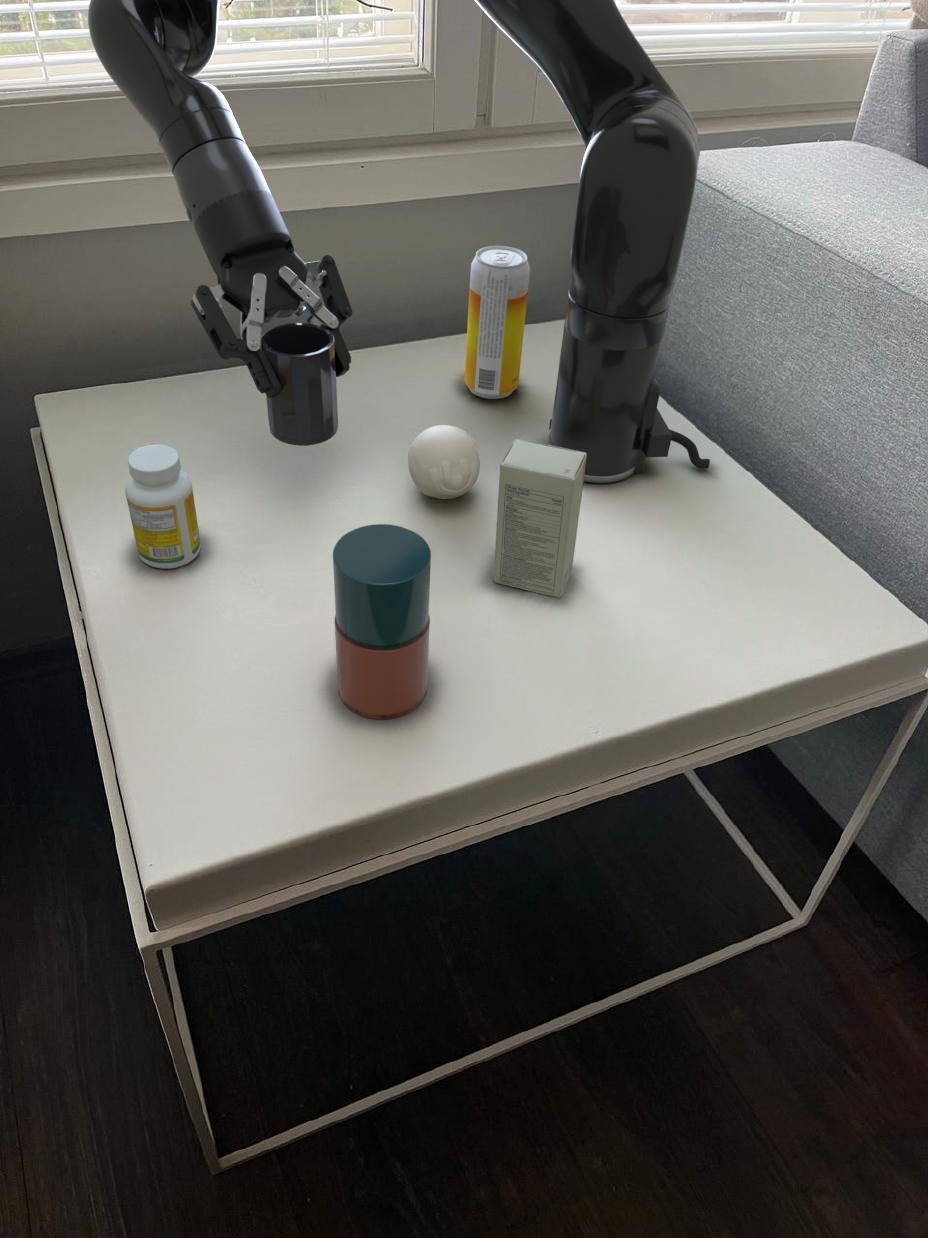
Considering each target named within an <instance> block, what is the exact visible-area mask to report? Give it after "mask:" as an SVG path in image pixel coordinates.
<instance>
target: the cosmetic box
mask: <svg viewBox="0 0 928 1238" xmlns="http://www.w3.org/2000/svg"><path fill="white" fill-rule="evenodd" d="M586 456H587V454H586V453H585V452H580V451H576V450H571V449H566V448H562V447H556V446H552V445H548V443H542V442H536V441H532V440H526V439H520V438H515V439H514V441H513V442H512V444H511V445H510V447H508V449H507V451H506V452H505V455H504V456H503V458H502V459H501V461H500V463H499V478H498V493H497V494H498V495H497V512H496V528H495V546H494V560H493V564H494V565H493V577H492V580H493V582H494V583H495V584H500V585H504V586H508V587H510V588H516V589H519V590H524V591H527V592H528V591H529V592H533V593H537V594H543V595H546V596H550V597H555V598H561V597H562V595H563V593H564V591H565V589H566V587H567V584H568V582H569V580H570V577H571V574H572V571H573V567H574V566H573V564H574V557H575V549H576V544H577V543H576V541H577V534H578V526H579V518H580V511H581V503H582V495H583V489H584V488H583V487H584V482H585V481H584V472H585V464H586Z"/></svg>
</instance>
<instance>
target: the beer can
mask: <svg viewBox="0 0 928 1238" xmlns="http://www.w3.org/2000/svg"><path fill="white" fill-rule="evenodd" d="M530 274H531V266H530V263H529V261H528V255H527V254H526V253H525V252H524V251H522V250H521V249H519V248H517V247H512V246H506V245H488V246H484V247H481V248H479V249H478V250H477V251H476V252H475V256H474V258H473V259H472V262H471V264H470V279H469V292H468V293H469V295H468V311H467V326H466V329H467V330H466V344H465V345H466V346H465V362H464V377H463V379H464V384H465V385H466V387H468V389H469V391H470V392H471V393H472V394H474V395H475V396H476V397H479V398H483V399H488V400H497V399H504V398H507V397H509V396H510V395H511V394H512V393H513V391H514V390H516V389H517V388H518V386H519V383H520V372H521V363H522V354H523V353H522V352H523V345H524V343H523V342H524V333H525V324H526V323H525V322H526V316H527V315H526V314H527V313H526V312H527V304H528V295H529V293H528V292H529V286H530V285H529V284H530Z"/></svg>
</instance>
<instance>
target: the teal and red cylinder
mask: <svg viewBox="0 0 928 1238" xmlns="http://www.w3.org/2000/svg"><path fill="white" fill-rule="evenodd" d="M431 551H432V550H431V548H430V546H429V544H428V542H427V541H426V539H425V538H423V537H422V535H420V534H418V533H417V532H416V531H414V530H412V529H409V528H407V527H404V526H401V525H398V524H397V525H396V524H391V523H390V524H389V523H375V524H368V525H363V526H359V527H356V528H354V529H352V530H350V531H348V532H346V533H345V534H343V535H342V536H341V537H340V538H339V539H338V540H337V542H336V543H335V545H334V547H333V550H332V566H333V567H332V568H333V588H334V589H333V590H334V606H335V607H334V608H335V609H334V610H335V615H334V638H335V657H336V658H335V659H336V661H335V662H336V679H337V680H336V681H337V692H338V695H339V698H340V700H341V702H342V703H343V704H344V705H345V706H346V707H347V709H349V710H350V711H352V712H353V713H355V714H357V715H359V716H361V717H364V718H368V719H371V720H372V719H373V720H391V719H396V718H397V719H398V718H400V717H403V716H405V715H407V714H410V713H411V712H413V711H414V710H416V709H417V708H418V707H419V706H420V704H422V703H423V702H424V699H425V698H426V695H427V693H428V681H429V680H428V679H429V655H430V654H429V652H430V632H431V631H430V628H431V619H430V593H431V591H430V590H431V571H432V570H431V568H432V567H431V566H432V565H431V564H432V552H431Z"/></svg>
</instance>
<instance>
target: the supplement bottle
mask: <svg viewBox="0 0 928 1238" xmlns="http://www.w3.org/2000/svg"><path fill="white" fill-rule="evenodd" d="M127 464H128V469H129V474H130V476H129V477H128V479H127V480H126V483H125V487H124V491H125V493H124V494H125V498H126V502H127V508H128V512H129V516H130V517H129V518H130V521H131V526H132V530H133V531H132V532H133V535H134V541H135V545H136V550H137V555H138V556H139V558H140V560H141V561H142V562H143V563H145V564H146V565H148V566H150V567H153V568H156V569H163V570H164V569H168V570H169V569H176V568H179V567H183V566H185V565H187V564H189V563H190V562H192V561H194V559H195V558H196V557H197V556H198V554H199V553H200V550H201V546H202V543H201V537H200V530H199V524H198V518H197V517H198V516H197V510H196V502H195V496H194V490H193V483H192V481H191V478H190V476H189V475H188V474H187V473H186V472H185V471H184V470H182V463H181V460H180V454H179V453H178V451H177V450H176V449H175V448H173V447H171V446H169V445H165V444H148V445H144V446H141V447H137V448H136V449H135V450H133V451H132V452H131V453H130V454H129V456H128V458H127Z"/></svg>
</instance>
